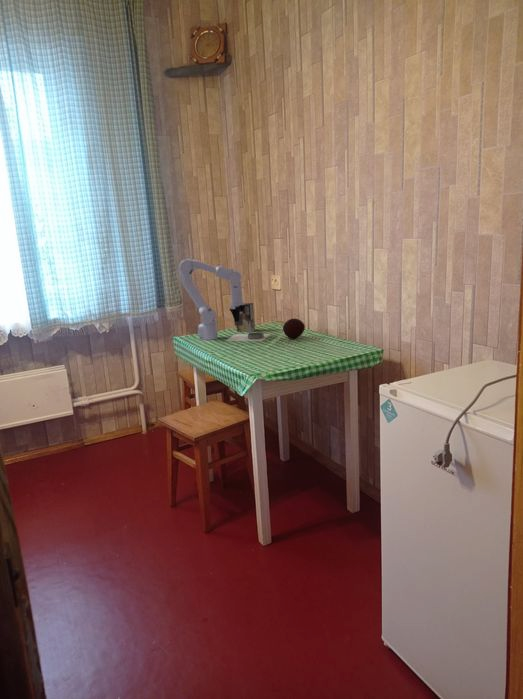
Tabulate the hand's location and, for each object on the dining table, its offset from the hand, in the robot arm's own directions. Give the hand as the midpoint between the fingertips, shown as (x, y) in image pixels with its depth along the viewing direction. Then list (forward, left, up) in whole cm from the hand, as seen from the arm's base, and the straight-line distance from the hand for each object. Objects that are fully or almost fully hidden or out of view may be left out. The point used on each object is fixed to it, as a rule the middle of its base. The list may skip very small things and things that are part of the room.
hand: (238, 320), depth 267 cm
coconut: (+29, +1, -10) cm, 31 cm away
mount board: (+5, -1, -10) cm, 11 cm away
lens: (0, 0, -2) cm, 2 cm away
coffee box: (-2, +17, -10) cm, 20 cm away
